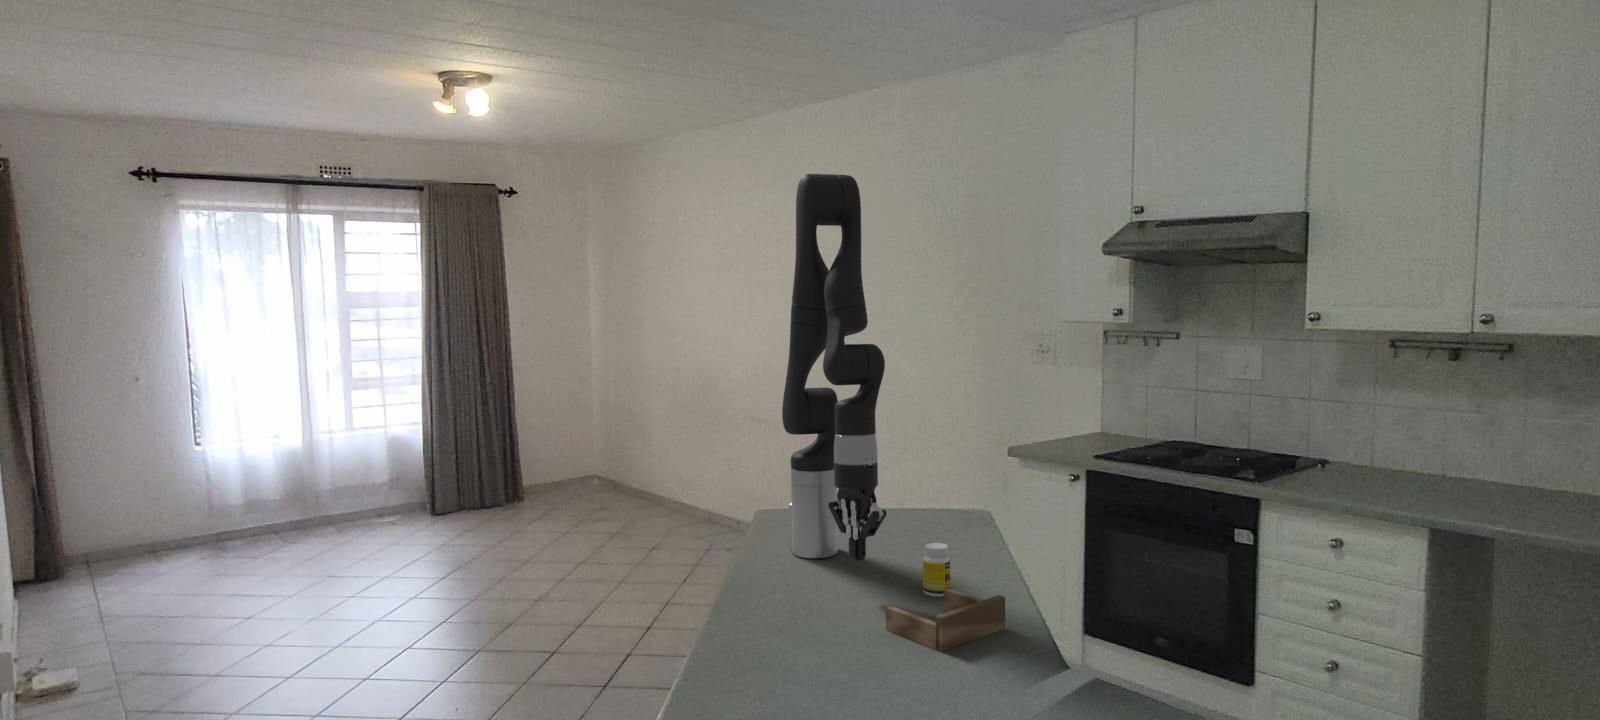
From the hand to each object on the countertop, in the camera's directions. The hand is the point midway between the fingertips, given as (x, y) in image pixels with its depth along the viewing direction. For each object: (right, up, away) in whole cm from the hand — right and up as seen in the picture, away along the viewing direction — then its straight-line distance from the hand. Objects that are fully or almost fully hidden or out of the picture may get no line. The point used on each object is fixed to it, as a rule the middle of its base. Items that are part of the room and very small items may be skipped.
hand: (857, 559), depth 146 cm
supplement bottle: (+14, -7, +2) cm, 16 cm away
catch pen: (+12, -7, -15) cm, 21 cm away
